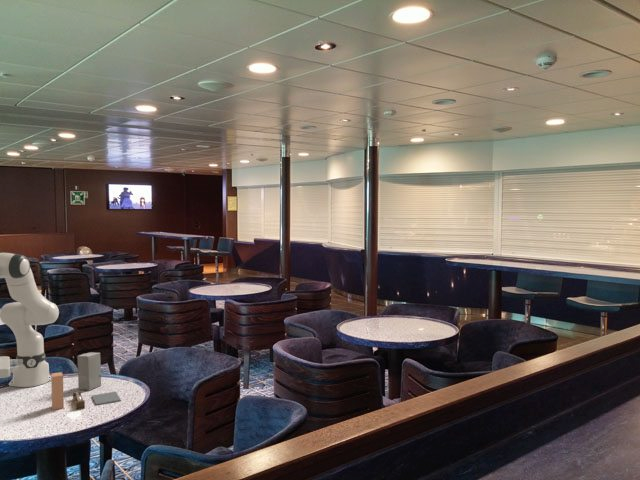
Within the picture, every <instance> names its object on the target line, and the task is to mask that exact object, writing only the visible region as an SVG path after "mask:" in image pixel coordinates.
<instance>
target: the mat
mask: <svg viewBox="0 0 640 480" xmlns="http://www.w3.org/2000/svg"><path fill="white" fill-rule="evenodd" d="M91 398H92V400H93V403H94V404H95V406H99V405H100V406H101V405H106V404H111V403H117V402H121V398H120V396H119V395H118V393H117V391H111V392H110V391H109V392H105V393H99V394H93V395H91Z"/></svg>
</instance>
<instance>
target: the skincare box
mask: <svg viewBox="0 0 640 480" xmlns="http://www.w3.org/2000/svg"><path fill="white" fill-rule="evenodd" d="M76 357H77V358H76V359H77V377H78V381H77V382H78V383H77V384H78V390H84V391H91V390H93V389H95V388H98V387H100V386H102V368H101V367H102V366H101V362H102V361H101V352H94V351H93V352H92V351H91V352H87V353H82V354H79V355H77V356H76Z"/></svg>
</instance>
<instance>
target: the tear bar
mask: <svg viewBox="0 0 640 480" xmlns="http://www.w3.org/2000/svg"><path fill="white" fill-rule="evenodd" d="M72 400H73V403H74V406H75V409H76V410H83V409H85V406H86V405H85V403H86V402H85V400H84V399H83V397H82V392H81V390H80V391H74V392H72Z"/></svg>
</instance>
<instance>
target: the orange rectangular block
mask: <svg viewBox="0 0 640 480" xmlns="http://www.w3.org/2000/svg"><path fill="white" fill-rule="evenodd" d="M50 375H51V381H50V382H51V408H52V411H56V410H63V409H64V407H65V406H64V405H65V404H64V375H63V372H61V371H60V372H53V373H50Z"/></svg>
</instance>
